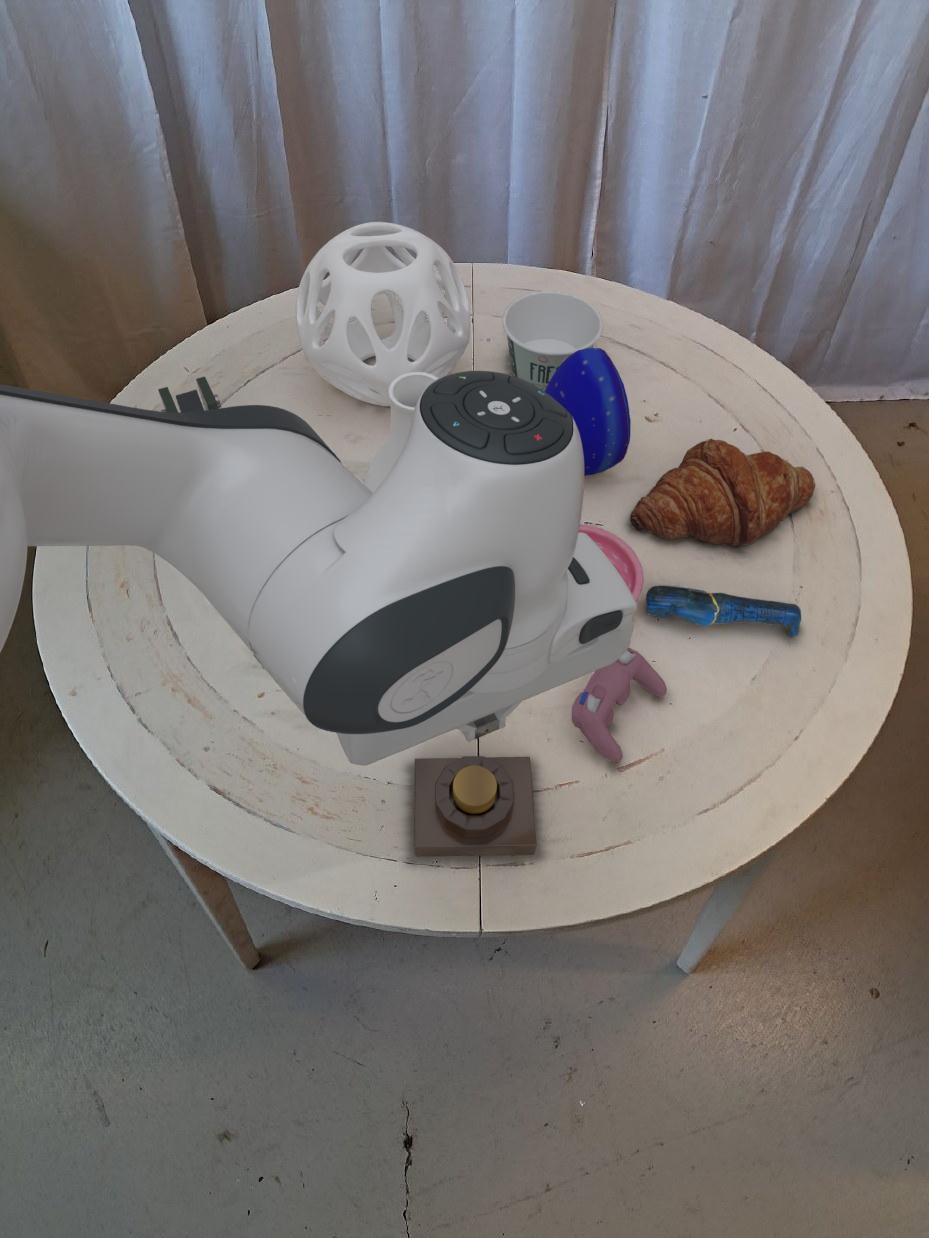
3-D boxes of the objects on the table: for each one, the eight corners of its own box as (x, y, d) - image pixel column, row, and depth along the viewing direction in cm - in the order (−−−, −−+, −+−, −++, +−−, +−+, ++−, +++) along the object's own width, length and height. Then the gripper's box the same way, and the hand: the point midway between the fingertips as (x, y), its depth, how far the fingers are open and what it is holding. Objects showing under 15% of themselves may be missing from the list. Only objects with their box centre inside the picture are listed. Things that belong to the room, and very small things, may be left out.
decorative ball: (481, 426, 103) (486, 296, 89) (311, 442, 101) (289, 312, 87) (456, 321, 115) (457, 190, 100) (302, 333, 113) (281, 202, 98)
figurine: (791, 620, 89) (641, 604, 90) (801, 589, 87) (647, 573, 88) (799, 649, 85) (642, 632, 87) (809, 617, 83) (648, 601, 84)
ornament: (633, 485, 98) (660, 378, 86) (557, 504, 96) (574, 398, 84) (593, 420, 104) (613, 311, 92) (521, 437, 102) (531, 329, 90)
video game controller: (630, 681, 86) (612, 629, 81) (672, 691, 82) (655, 638, 78) (578, 756, 81) (555, 704, 77) (620, 770, 78) (599, 717, 74)
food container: (576, 328, 114) (583, 283, 109) (609, 388, 108) (618, 344, 102) (487, 343, 112) (490, 298, 107) (516, 405, 106) (519, 360, 100)
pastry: (690, 436, 103) (706, 382, 96) (816, 490, 98) (842, 437, 92) (624, 527, 95) (637, 475, 88) (758, 590, 90) (783, 540, 84)
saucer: (552, 658, 85) (556, 639, 82) (495, 566, 91) (497, 546, 89) (661, 614, 88) (668, 595, 86) (599, 528, 95) (603, 508, 92)
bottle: (367, 547, 93) (344, 347, 72) (473, 540, 93) (480, 341, 73) (370, 634, 86) (346, 443, 65) (483, 627, 87) (495, 436, 66)
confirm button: (453, 814, 72) (453, 806, 71) (452, 774, 74) (452, 765, 73) (497, 813, 72) (498, 805, 71) (495, 773, 74) (495, 764, 73)
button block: (415, 857, 74) (413, 839, 70) (415, 769, 78) (414, 748, 75) (534, 854, 74) (538, 837, 71) (528, 767, 78) (531, 747, 75)
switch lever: (253, 506, 94) (253, 501, 92) (207, 521, 93) (206, 516, 91) (210, 394, 95) (209, 385, 92) (164, 407, 93) (162, 399, 91)
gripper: (339, 724, 47) (361, 823, 59) (661, 596, 53) (624, 709, 64) (301, 636, 51) (329, 745, 62) (607, 523, 56) (581, 643, 67)
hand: (481, 726), depth 63 cm, fingers closed
